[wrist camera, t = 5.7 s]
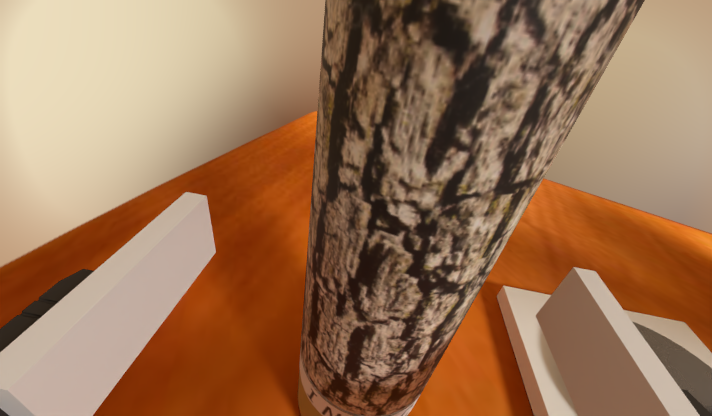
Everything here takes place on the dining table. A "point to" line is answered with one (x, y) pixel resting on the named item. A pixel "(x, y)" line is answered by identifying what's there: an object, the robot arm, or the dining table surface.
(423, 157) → the paper tube
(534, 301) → the domed button base
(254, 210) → the dining table surface
